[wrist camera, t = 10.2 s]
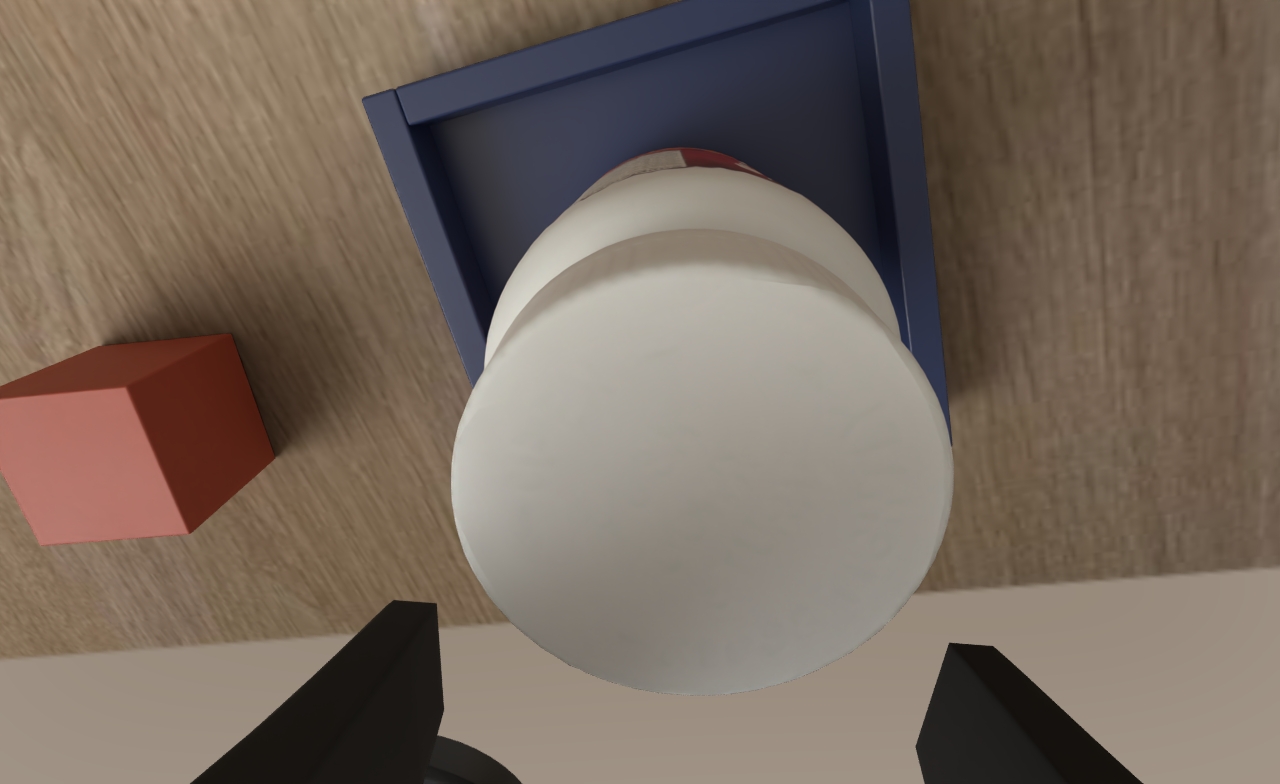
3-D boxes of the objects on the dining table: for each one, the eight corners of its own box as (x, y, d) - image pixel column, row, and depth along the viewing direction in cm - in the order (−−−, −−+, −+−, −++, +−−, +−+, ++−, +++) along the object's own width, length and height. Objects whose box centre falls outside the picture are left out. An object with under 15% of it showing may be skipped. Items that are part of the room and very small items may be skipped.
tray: (540, 498, 20) (528, 536, 19) (393, 99, 16) (359, 97, 14) (925, 415, 19) (954, 447, 17) (873, -45, 15) (903, -68, 13)
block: (276, 458, 20) (190, 535, 17) (151, 469, 20) (39, 546, 17) (231, 332, 19) (126, 385, 15) (97, 345, 19) (-38, 401, 15)
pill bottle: (844, 296, 17) (1125, 573, 7) (653, 423, 19) (643, 807, 8) (708, 88, 16) (806, 30, 5) (509, 246, 17) (269, 454, 7)
